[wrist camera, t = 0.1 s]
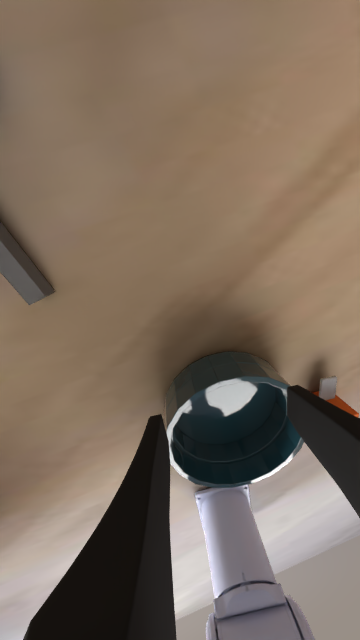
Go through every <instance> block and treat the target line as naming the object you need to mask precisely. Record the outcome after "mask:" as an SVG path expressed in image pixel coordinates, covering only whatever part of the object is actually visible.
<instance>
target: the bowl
mask: <svg viewBox="0 0 360 640" xmlns="http://www.w3.org/2000/svg"><path fill="white" fill-rule="evenodd" d="M290 386H291V385H290V384H289V383H288V382H287V381H286V380H285V379H284V378H283V377H282V376H281V375H280V374H279V373H278V372H277V371H276V370H275V369H274V368H273V367H272V366H271V365H270V364H269V363H268V362H267V361H266V360H263V359H261V358H259V357H256V356H254V355H252V354H249V353H242V352H230V351H228V352H223V353H216V354H213V355H209V356H206V357H204V358H201V359H199V360H198V361H196V362H194V363H192V364H190V365H189V366H188V367H187V368H185V369H184V370H183V371H182V372H181V373H180V374H179V375H178V376H177V377H176V378H175V379H174V381H173V383H172V385H171V386H170V388H169V390H168V392H167V394H166V398H165V405H164V426H165V430H166V433H167V437H168V440H169V452H170V464H171V465H172V467H173V468H174V469H175V470H176V471H177V472H178V474H179V475H181V476H182V477H184V478H186V479H188V480H189V481H191V482H193V483H195V484H198V485H203V486H207V487H211V488H233V487H234V488H235V487H239V486H243V485H248V484H252V483H255V482H258V481H260V480H262V479H264V478H267V477H269V476H271V475H273V474H274V473H276V472H277V471H278V470H280V469H281V468H283V467H284V466H285V465H287V464H288V463H289V462H290V461H291V460H292V459H293V457H294V456H295V455H296V454H297V453H298V452H299V450H300V449H301V448H302V445H303V443H304V441H303V439H302V438H301V437H300V435H299V434H298V432H297V431H296V429H295V428H294V426H293V424H292V423H291V421H290V419H289V418H288V416H287V387H290Z"/></svg>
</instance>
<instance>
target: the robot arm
mask: <svg viewBox="0 0 360 640" xmlns="http://www.w3.org/2000/svg"><path fill="white" fill-rule="evenodd" d="M287 416H288V418H289V419H290V421H291V423H292V424H293V426H294V428H295V429H296V431H297V432H298V434H299V435H300V437H301V438H302V439H303V441H304V442H305V443H306V444H307V446H308V447H309V448H310V450H311V451H312V452H313V454H314V455H315V456H316V457H317V459H318V460H319V461H320V463H321V464H322V465H323V466H324V468H325V469H326V470H327V472H328V473H329V474H330V475H331V477H332V478H333V479H334V481H335V482H336V483H337V485H338V486H339V488H340V489H341V490H342V492H343V493H344V495H345V496H346V498H347V499H348V501H349V502H350V504H351V505H352V507H353V508H354V510H355V511H356V513H357V514H358V516H359V518H360V418H358V417H356V416H354V415H352V414H350V413H348V412H346V411H344V410H342V409H340V408H339V407H337V406H335V405H333V404H331V403H329V402H328V401H326V400H324V399H322V398H320V397H319V396H317V395H315V394H313V393H312V392H310V391H308V390H306V389H304V388H302V387H301V386H299V385H295V386H290V387H287ZM195 498H196V502H197V506H198V510H199V514H200V518H201V522H202V526H203V530H204V532H205V539H206V545H207V552H208V558H209V565H210V571H211V578H212V585H213V591H214V598H215V599H213V602H214V609H215V614H214V613H210V614H209V619H208V621H207V624H206V637H207V638H206V639H207V640H315V639H314V636H313V634H312V631H311V629H310V627H309V624H308V622H307V620H306V618H305V615H304V614H303V612H302V610H301V608H300V606H299V605H298V604H297V603H296V602H295V601H294V600H293V598H292V597H291V596H290V595H284V593H283V590H282V587H281V584H277V583H276V580H275V577H274V574H273V571H272V568H271V565H270V562H269V560H268V557H267V554H266V551H265V548H264V545H263V542H262V539H261V537H260V534H259V531H258V528H257V525H256V522H255V519H254V516H253V514H252V511H251V503H250V493H249V484H248V485H243V486H239V487H235V488H234V487H233V488H210V489H206V490H201V491H197V492H195ZM169 509H170V452H169V440H168V437H167V433H166V430H165V426H164V423H163V419H162V415H161V414H160V415H155V416H150V418H149V420H148V423H147V426H146V429H145V431H144V434H143V437H142V439H141V442H140V444H139V447H138V449H137V452H136V454H135V456H134V459H133V461H132V463H131V465H130V467H129V469H128V471H127V474H126V476H125V478H124V480H123V482H122V484H121V486H120V488H119V489H118V491H117V493H116V495H115V497H114V499H113V500H112V502H111V504H110V506H109V507H108V509H107V511H106V512H105V514H104V516H103V518H102V519H101V521H100V523H99V524H98V526H97V527H96V529H95V531H94V532H93V534H92V535H91V537H90V538H89V540H88V541H87V543H86V544H85V546H84V547H83V549H82V550H81V552H80V553H79V555H78V556H77V558H76V559H75V561H74V562H73V564H72V565H71V567H70V568H69V570H68V571H67V572H66V574H65V575H64V577H63V578H62V579H61V581H60V582H59V583H58V585H57V586H56V587H55V589H54V590H53V592H52V593H51V594H50V596H49V597H48V598H47V600H46V601H45V602H44V604H43V605H42V607H41V608H40V609H39V611H38V612H37V613H36V615H35V616H34V617H33V619H32V620H31V622H30V624H29V627H28V629H27V632H26V634H25V636H24V639H23V640H176V626H175V611H174V597H173V581H172V564H171V546H170V523H169ZM215 616H216V618H215Z"/></svg>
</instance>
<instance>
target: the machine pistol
mask: <svg viewBox="0 0 360 640" xmlns="http://www.w3.org/2000/svg"><path fill="white" fill-rule="evenodd" d="M0 272H1V273H2V275H3V276H4V277H5V278H6V279H7V280H8V281H9V283H10V284H11V285H12V286H13V287H14V288H15V290H16V291H17V292H18V293H19V294H20V295H21V296H22V298H23V299H24V300H25V301H26V302H27V303H28V304H29V305H31V304H33V303H35V302H37V301H39V300H41V299H43V298H45V297H47V296H48V295H50V294H52V293H54V292H55V291H54V289H53V288H52V287H51V286H50V284H49V283H48V282H47V280H46V279H45V278H44V277H43V275H42V274H41V273H40V271H39V270H38V269H37V268H36V266H35V265H34V264H33V263H32V261H31V260H30V259H29V257H28V256H27V255H26V254H25V252H24V251H23V250H22V249H21V247H20V246H19V245H18V243H17V242H16V241H15V240H14V238H13V237H12V236H11V234H10V233H9V232H8V231H7V229H6V228H5V227H4V226H3V224H2V223H1V222H0Z"/></svg>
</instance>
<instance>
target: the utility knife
mask: <svg viewBox="0 0 360 640" xmlns="http://www.w3.org/2000/svg"><path fill="white" fill-rule="evenodd" d="M336 384H337V377H336V376H332V377H327V378H323V379H320V387H319V391H317V392H312V393H313V394H315V395H317V396H319V397H320V398H322V399H324V400H326V401H328V402H329V403H331V404H333V405H335V406H337V407H339V408H340V409H342V410H344V411H346V412H348V413H350V414H352V415H354V416H356V417H358V416H359V413H357V412H356V411H355V410H354V409H352V408H351V407H350V406H349V405H348V404H346V403H345V402H344V401H343V400H341V399H340V398H339V397H338V396H336V395H335V393H336Z"/></svg>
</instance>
